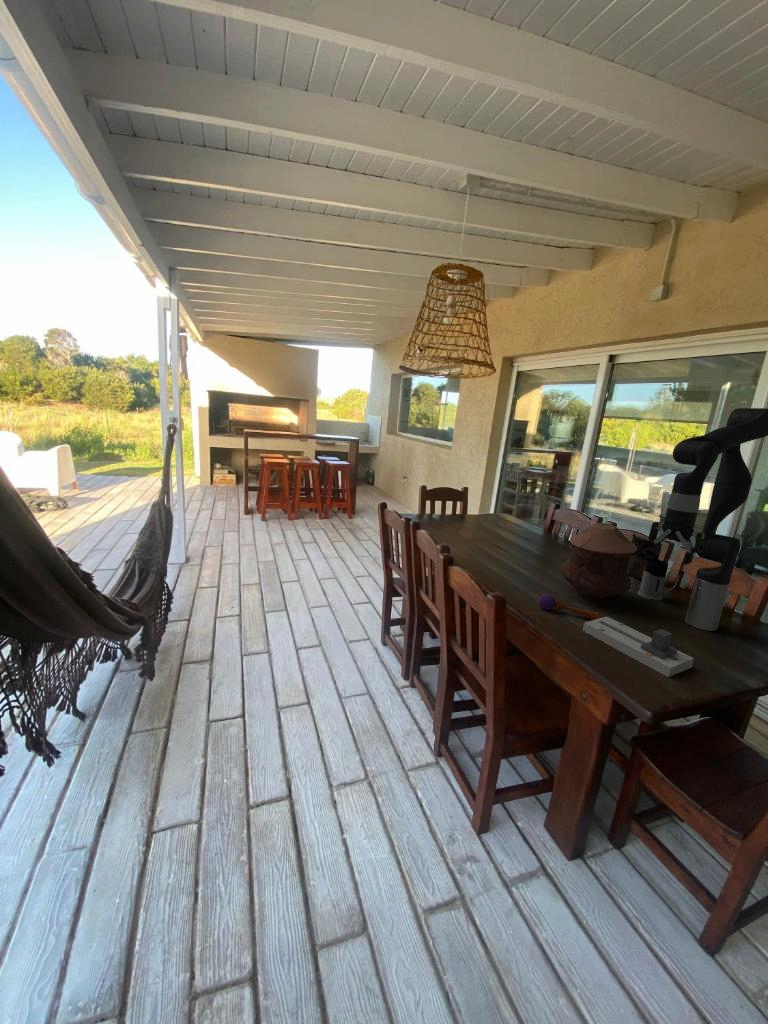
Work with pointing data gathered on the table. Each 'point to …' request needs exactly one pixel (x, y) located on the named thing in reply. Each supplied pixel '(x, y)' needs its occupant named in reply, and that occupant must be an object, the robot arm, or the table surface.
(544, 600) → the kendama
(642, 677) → the table surface
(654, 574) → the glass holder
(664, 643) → the fader tab
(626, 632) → the slider console
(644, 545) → the owl
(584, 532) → the pottery vessel
